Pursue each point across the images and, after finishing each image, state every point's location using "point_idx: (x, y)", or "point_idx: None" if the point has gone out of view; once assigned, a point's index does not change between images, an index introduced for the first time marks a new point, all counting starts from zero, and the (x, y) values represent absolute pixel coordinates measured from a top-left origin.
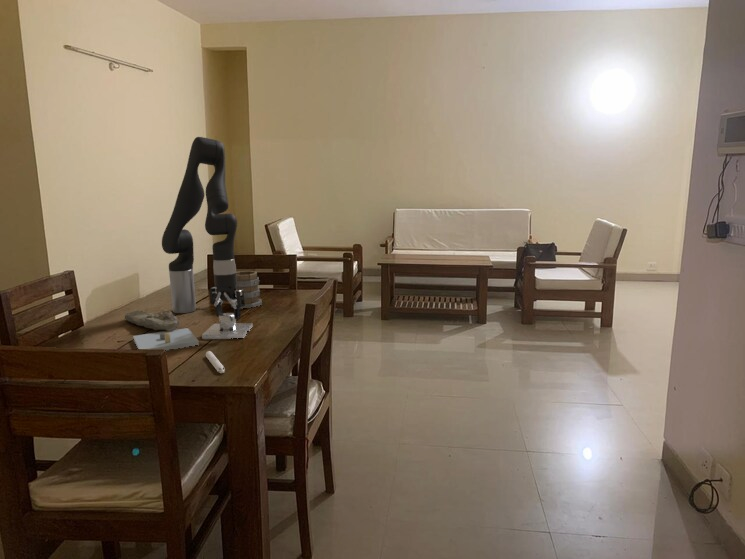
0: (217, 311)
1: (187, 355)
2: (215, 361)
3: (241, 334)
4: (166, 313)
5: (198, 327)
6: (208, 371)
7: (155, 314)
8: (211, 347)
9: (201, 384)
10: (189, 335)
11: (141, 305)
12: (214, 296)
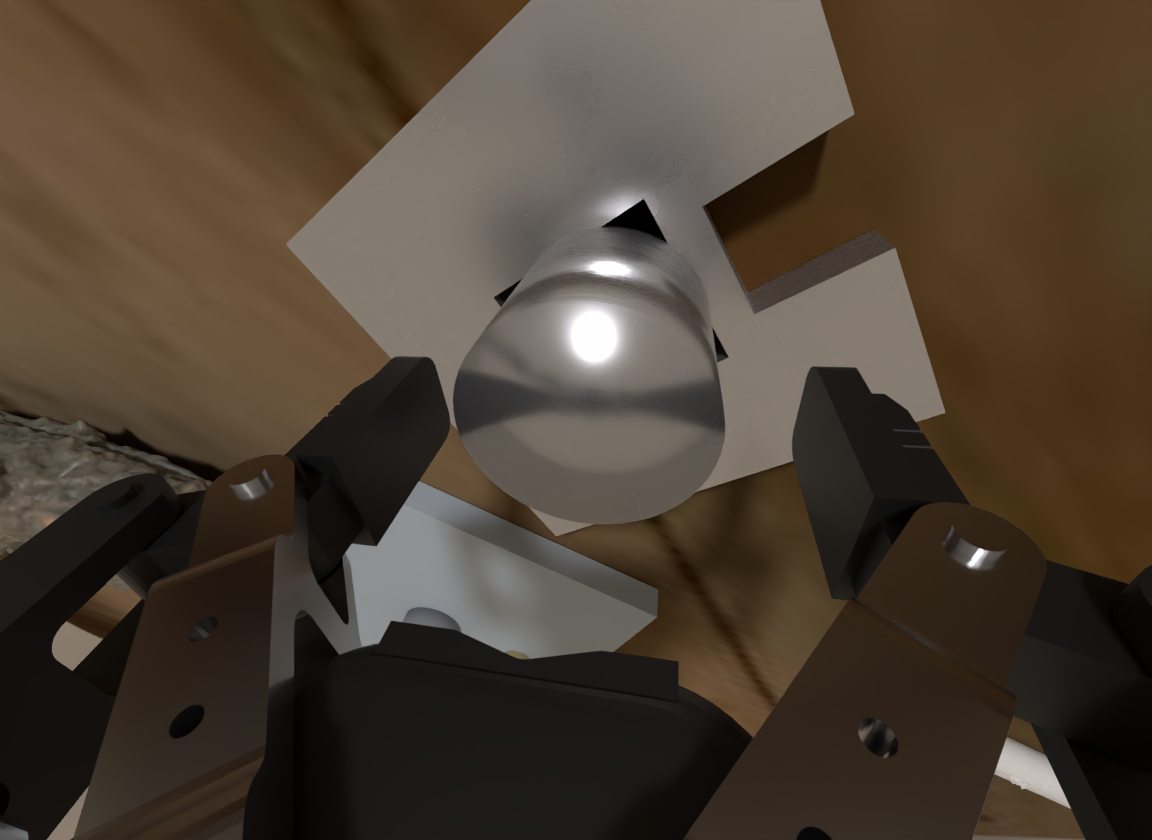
0: (411, 486)
1: (732, 685)
2: (1030, 789)
3: (923, 418)
4: (17, 533)
5: (210, 300)
6: (999, 777)
7: None
8: (770, 594)
9: (1043, 833)
10: (491, 563)
11: None
12: (76, 708)
